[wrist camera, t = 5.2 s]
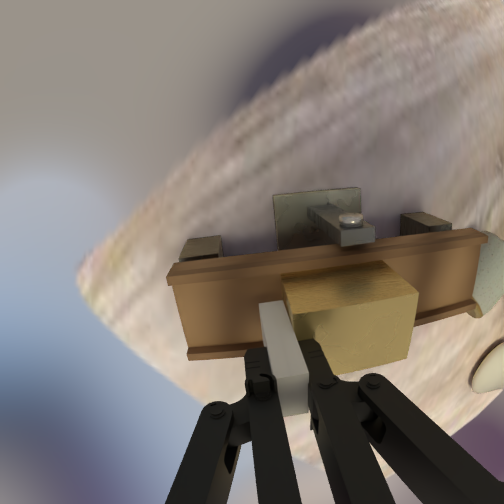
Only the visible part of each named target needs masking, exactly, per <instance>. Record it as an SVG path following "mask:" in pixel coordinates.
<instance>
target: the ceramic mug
mask: <svg viewBox="0 0 504 504" xmlns="http://www.w3.org/2000/svg"><path fill="white" fill-rule="evenodd" d="M481 233H484V234H486V235H488V243H485V244H481V249H480V256H479V263H478V269H477V275H476V280H475V285H474V290H473V295H472V299H473V300H474V301H475V302H476V303H477V304H476V308H475V309H473V310H470V311H467V313H468V314H469V315H471V316H472V317H474V318H481V317H482V316H484V315H485V314H486V313H487V312H488V311H490V310H491V309H492V307H493V306H494V305H495V304H496V303H497V301H498V300H499V299H500V298H501V297H502V296H503V294H504V241H503V240H502V239H500V238H499V237H498V236H496V235H494V234H493V233H491V232H488V231H481Z"/></svg>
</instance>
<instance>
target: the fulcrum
mask: <svg viewBox="0 0 504 504" xmlns="http://www.w3.org/2000/svg"><path fill="white" fill-rule="evenodd" d="M273 205H274V215H275V225H276V236H277V247H278V251H280V250H289V249H297V248H306V247H314V246H323V245H331V244H339V245H340V246H341V247H343V246H350V245H357V244H364V243H372V242H375V226H373V225H371V224H369V223H367V222H366V221H364V220H363V215H362V214H361V195H360V188H357V187H355V188H342V189H330V190H318V191H307V192H297V193H287V194H278V195H273ZM448 230H452V223H450V222H447V221H445V220H442V219H440V218H437V217H435V216H432V215H430V214H427V213H424V212H417V213H407V214H401V225H400V236H407V235H415V234H423V233H432V232H440V231H448ZM221 257H223V250H222V243H221V237H220V235H218V236H211V237H203V238H196V239H189V240H187V242H186V244H185V246H184V248H183V250H182V252H181V254H180V256H179V262H186V261H195V260H204V259H212V258H221Z"/></svg>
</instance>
